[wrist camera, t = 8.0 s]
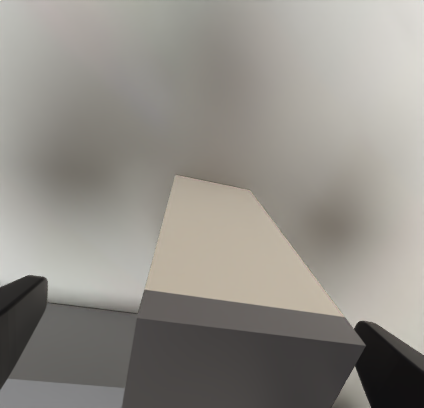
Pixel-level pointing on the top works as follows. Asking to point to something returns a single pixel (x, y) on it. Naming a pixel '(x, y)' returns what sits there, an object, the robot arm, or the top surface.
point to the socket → (73, 360)
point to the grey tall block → (233, 313)
